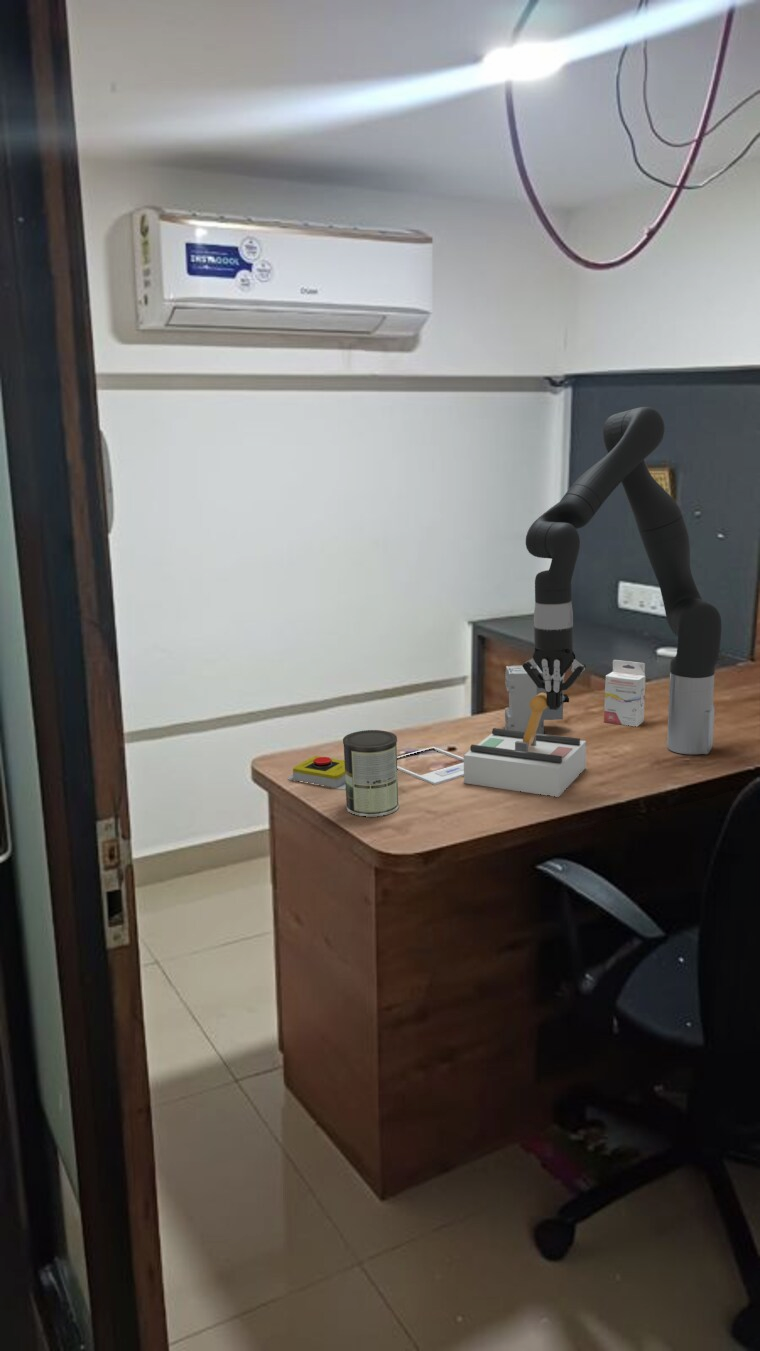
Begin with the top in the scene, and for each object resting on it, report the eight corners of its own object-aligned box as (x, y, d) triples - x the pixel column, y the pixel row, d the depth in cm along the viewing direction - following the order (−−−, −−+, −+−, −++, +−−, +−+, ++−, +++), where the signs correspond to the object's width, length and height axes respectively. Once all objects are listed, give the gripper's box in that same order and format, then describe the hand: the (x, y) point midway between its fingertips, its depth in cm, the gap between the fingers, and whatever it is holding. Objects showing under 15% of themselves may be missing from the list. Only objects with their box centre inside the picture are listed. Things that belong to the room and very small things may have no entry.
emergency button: (309, 749, 216) (368, 758, 208) (310, 768, 217) (369, 778, 210) (284, 761, 208) (345, 772, 201) (285, 781, 209) (345, 793, 202)
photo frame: (434, 782, 203) (381, 760, 217) (434, 787, 203) (381, 765, 217) (487, 765, 211) (433, 745, 225) (487, 770, 212) (433, 750, 226)
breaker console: (585, 768, 210) (586, 732, 208) (558, 797, 194) (558, 758, 192) (496, 756, 219) (496, 721, 217) (463, 783, 204) (463, 745, 202)
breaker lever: (537, 744, 206) (552, 696, 202) (531, 749, 203) (546, 700, 199) (523, 738, 207) (538, 690, 203) (516, 743, 204) (532, 694, 200)
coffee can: (334, 808, 192) (331, 739, 189) (372, 793, 200) (369, 726, 196) (373, 822, 185) (370, 750, 182) (410, 805, 193) (408, 736, 189)
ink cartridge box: (603, 722, 240) (604, 663, 237) (610, 717, 244) (611, 658, 241) (637, 727, 236) (639, 667, 232) (644, 721, 240) (646, 662, 236)
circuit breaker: (569, 734, 232) (570, 672, 228) (508, 736, 233) (508, 673, 229) (564, 725, 239) (565, 664, 236) (505, 726, 240) (505, 666, 236)
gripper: (591, 621, 196) (592, 706, 200) (528, 619, 202) (529, 701, 206) (580, 629, 190) (581, 716, 194) (515, 626, 196) (516, 711, 200)
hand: (554, 708), depth 200 cm, fingers closed
